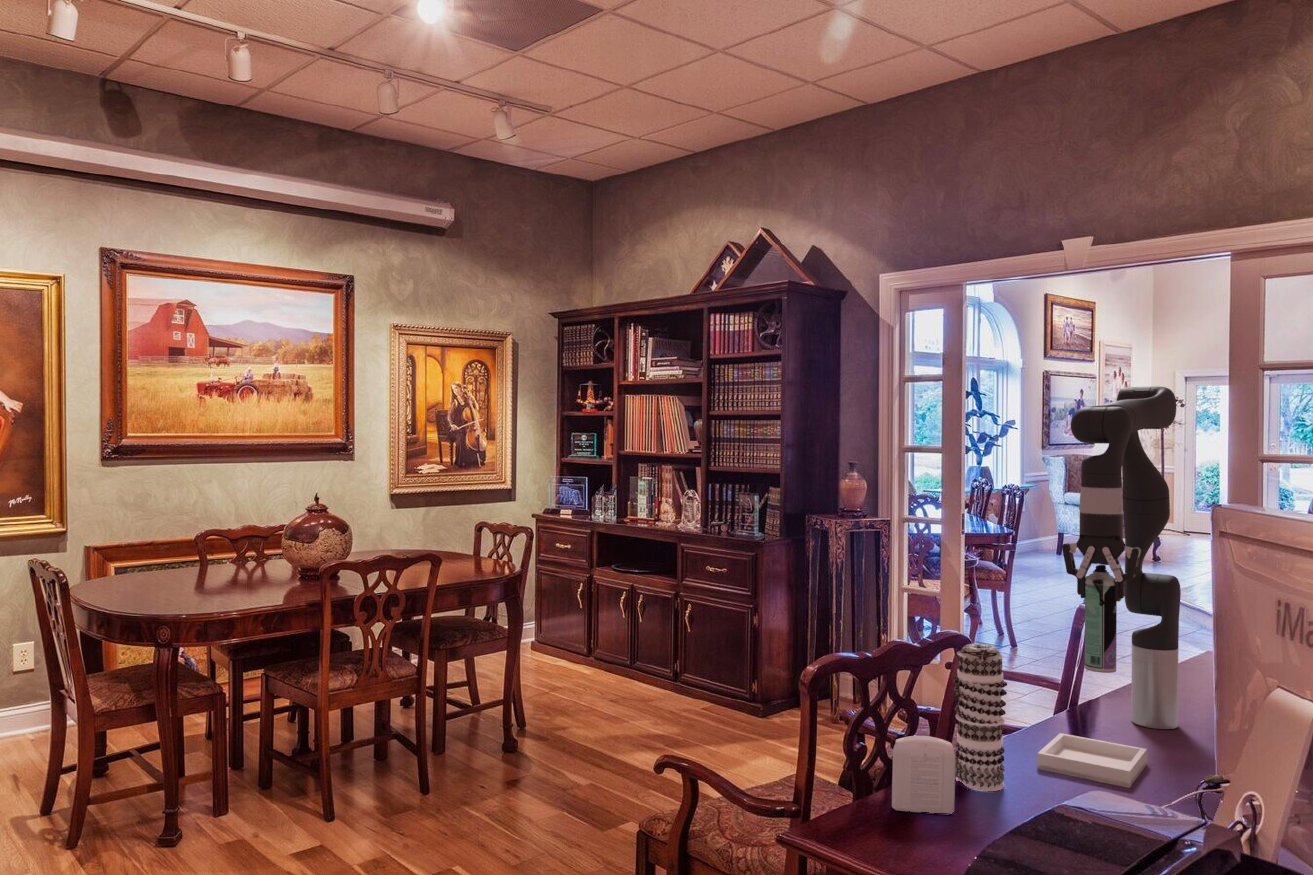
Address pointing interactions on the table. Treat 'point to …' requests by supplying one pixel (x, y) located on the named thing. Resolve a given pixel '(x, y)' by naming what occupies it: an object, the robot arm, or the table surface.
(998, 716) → the decorative candle
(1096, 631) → the spray can
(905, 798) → the white rounded block
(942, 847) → the table surface
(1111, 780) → the tray
